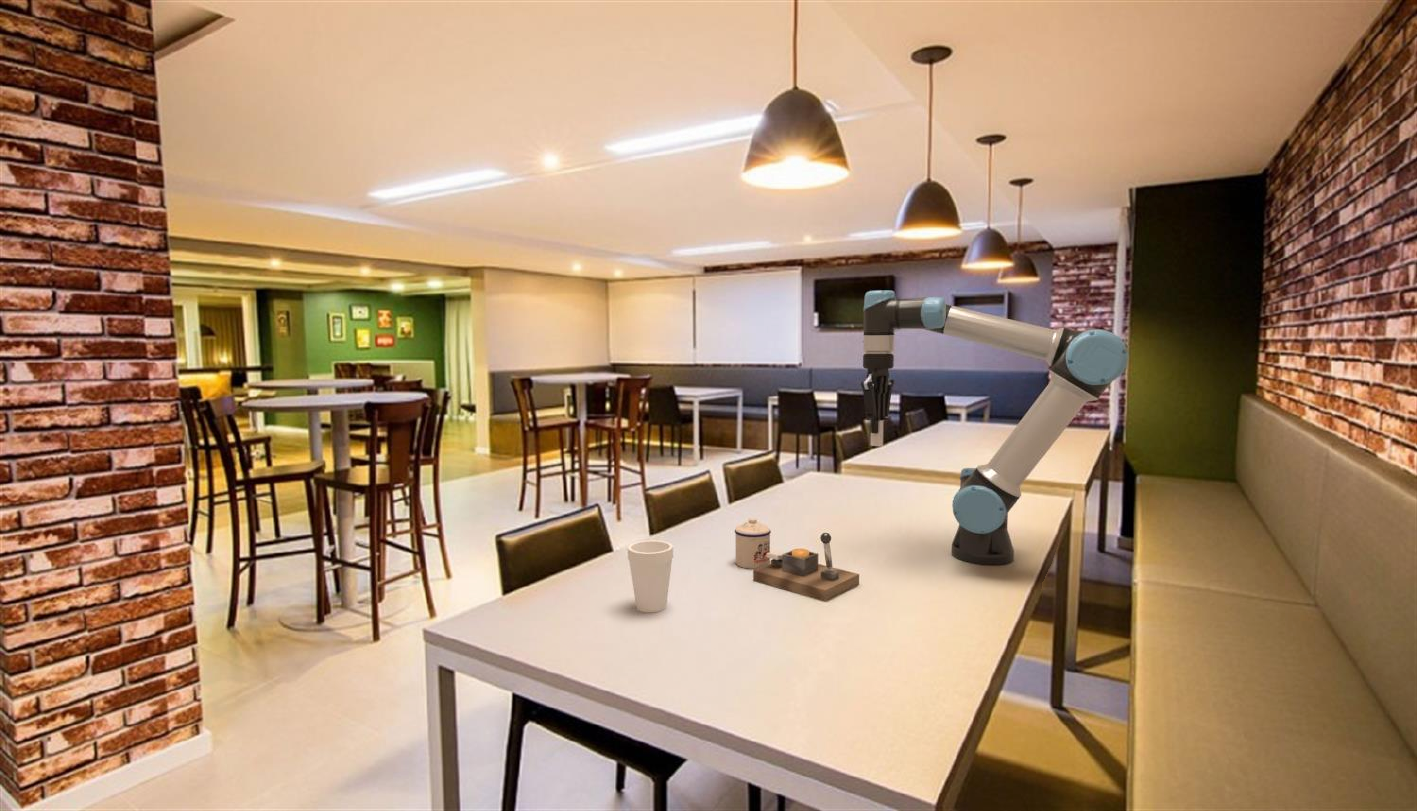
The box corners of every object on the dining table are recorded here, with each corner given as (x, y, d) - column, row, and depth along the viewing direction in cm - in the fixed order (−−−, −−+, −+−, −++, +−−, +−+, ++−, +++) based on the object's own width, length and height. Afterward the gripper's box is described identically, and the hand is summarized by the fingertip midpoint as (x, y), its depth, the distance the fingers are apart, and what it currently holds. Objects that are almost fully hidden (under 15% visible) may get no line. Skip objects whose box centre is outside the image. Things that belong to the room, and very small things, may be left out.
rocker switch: (792, 558, 166) (793, 554, 166) (777, 560, 162) (777, 555, 162) (782, 555, 168) (782, 551, 168) (766, 557, 164) (766, 552, 164)
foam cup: (638, 618, 140) (637, 556, 139) (622, 603, 148) (621, 544, 147) (680, 610, 144) (680, 549, 143) (663, 595, 152) (662, 538, 151)
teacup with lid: (758, 572, 168) (758, 525, 167) (727, 565, 173) (727, 519, 172) (782, 559, 178) (783, 515, 177) (752, 553, 183) (752, 510, 182)
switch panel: (859, 584, 159) (859, 557, 158) (825, 601, 148) (826, 572, 148) (788, 566, 172) (788, 540, 172) (753, 580, 162) (753, 553, 161)
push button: (812, 563, 161) (812, 551, 161) (802, 567, 158) (802, 554, 158) (798, 560, 164) (798, 547, 163) (788, 563, 161) (788, 551, 161)
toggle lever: (837, 567, 156) (832, 532, 153) (831, 572, 154) (826, 536, 152) (828, 565, 157) (823, 530, 155) (822, 569, 155) (817, 534, 153)
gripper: (877, 352, 181) (876, 441, 183) (851, 353, 171) (850, 447, 173) (904, 352, 176) (902, 444, 178) (879, 353, 166) (877, 450, 168)
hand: (876, 445), depth 175 cm, fingers closed
